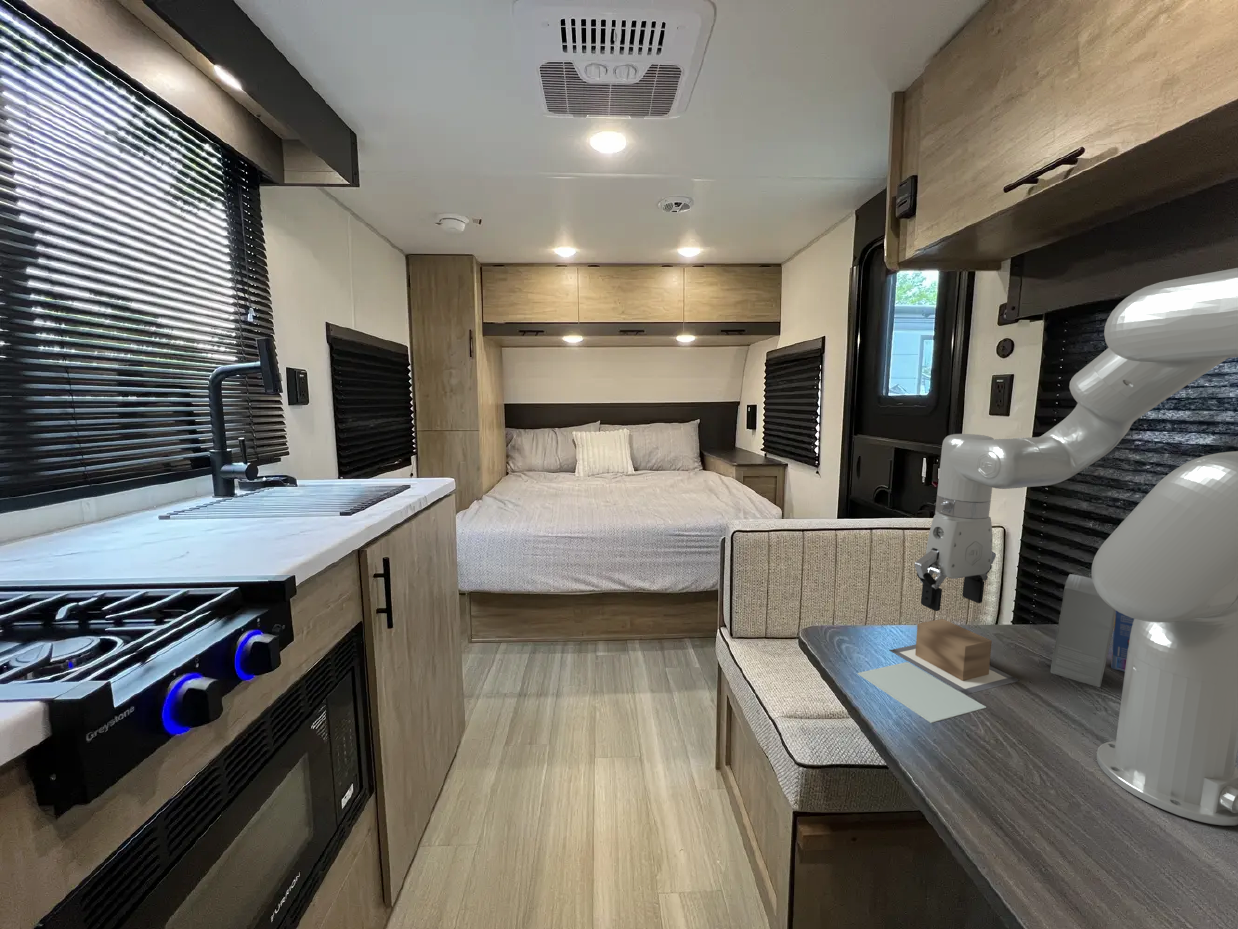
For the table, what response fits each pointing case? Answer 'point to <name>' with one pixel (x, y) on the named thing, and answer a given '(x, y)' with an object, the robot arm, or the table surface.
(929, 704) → the sage mat
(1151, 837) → the table surface
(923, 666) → the grey framed panel
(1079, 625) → the skincare box
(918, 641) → the walnut block
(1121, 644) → the ink cartridge box
